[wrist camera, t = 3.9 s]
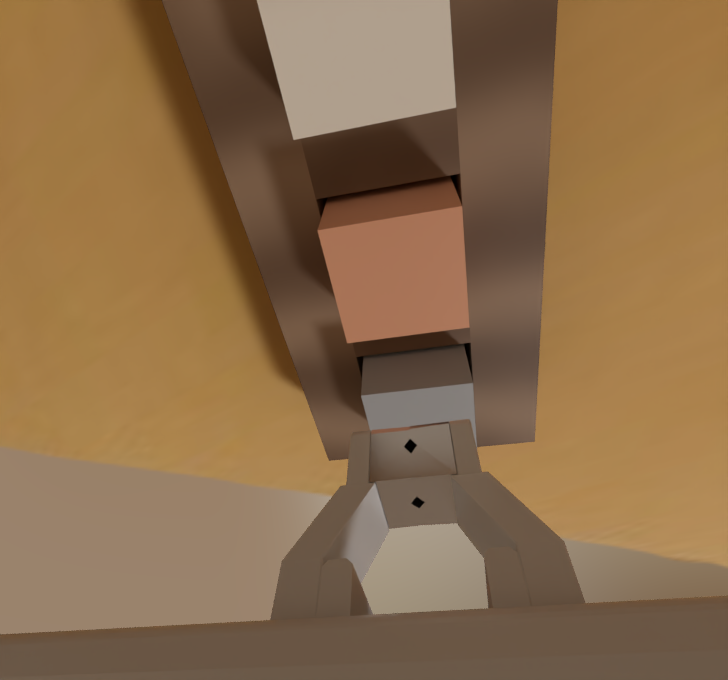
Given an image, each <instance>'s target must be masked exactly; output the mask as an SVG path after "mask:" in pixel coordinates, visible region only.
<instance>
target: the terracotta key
mask: <svg viewBox="0 0 728 680" xmlns="http://www.w3.org/2000/svg"><path fill="white" fill-rule="evenodd" d="M317 231H318V234H319V238H320V242H321V246H322V250H323V253H324V257H325V261H326V265H327V269H328V272H329V276H330V280H331V284H332V288H333V291H334V295H335V299H336V303H337V307H338V310H339V314H340V318H341V322H342V325H343V329H344V333H345V337H346V341H347V343H354V342H362V341H369V340H377V339H385V338H392V337H400V336H408V335H415V334H423V333H431V332H439V331H446V330H454V329H462V328H469V327H470V326H469V310H468V293H467V277H466V261H465V244H464V228H463V212H462V204H461V202H460V199H459V197H458V194H457V192H456V189H455V187H454V184H453V182H452V179H451V177H450V175H449V176H444V177H438V178H432V179H427V180H421V181H416V182H410V183H404V184H399V185H393V186H388V187H382V188H376V189H371V190H365V191H360V192H354V193H349V194H343V195H337V196H332V197H328V198H327V201H326V204H325V208H324V211H323V214H322V217H321V221H320V224H319V227H318V230H317Z"/></svg>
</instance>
